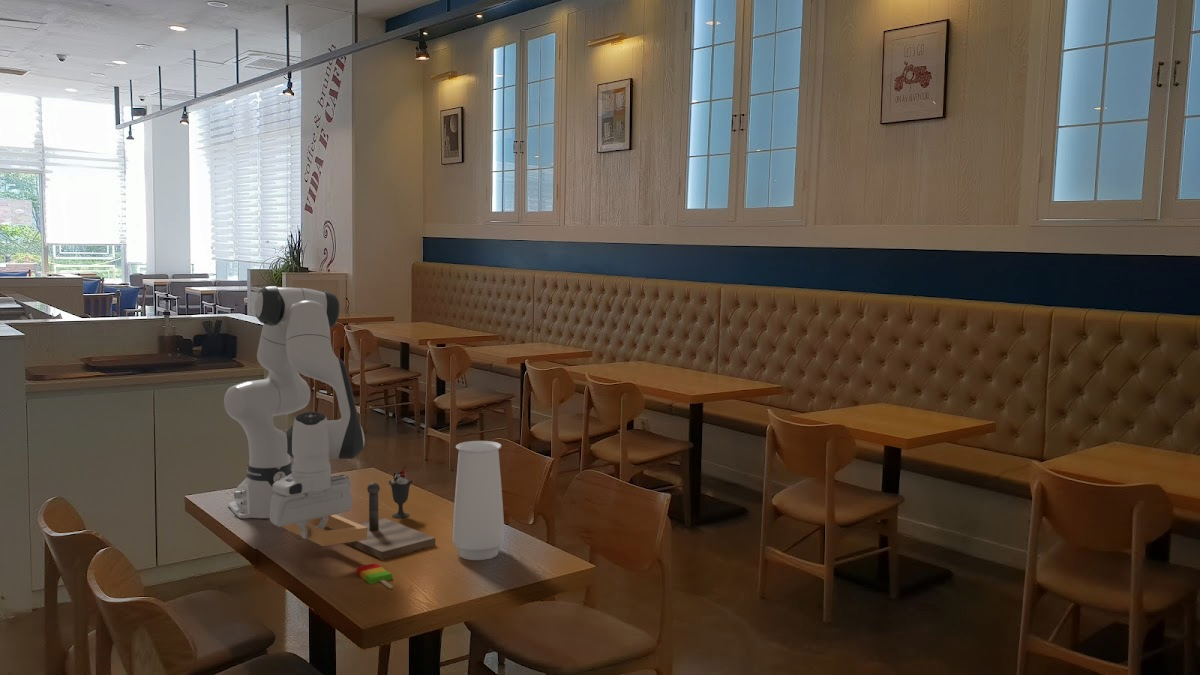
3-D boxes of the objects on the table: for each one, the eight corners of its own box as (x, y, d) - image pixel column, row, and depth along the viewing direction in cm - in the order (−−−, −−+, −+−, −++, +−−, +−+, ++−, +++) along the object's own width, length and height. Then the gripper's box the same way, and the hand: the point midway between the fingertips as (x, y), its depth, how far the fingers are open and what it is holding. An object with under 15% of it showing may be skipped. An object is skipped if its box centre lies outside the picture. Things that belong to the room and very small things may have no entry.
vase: (455, 564, 226) (455, 452, 223) (450, 547, 238) (449, 441, 236) (508, 560, 229) (508, 449, 227) (499, 543, 242) (500, 439, 239)
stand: (332, 537, 245) (331, 482, 244) (384, 524, 257) (383, 472, 255) (382, 559, 229) (381, 501, 227) (435, 545, 240) (435, 489, 239)
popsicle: (376, 569, 223) (376, 562, 223) (402, 589, 211) (402, 581, 211) (354, 574, 220) (354, 566, 220) (380, 594, 208) (379, 586, 208)
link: (282, 527, 233) (283, 515, 233) (325, 522, 241) (326, 510, 241) (322, 546, 219) (323, 533, 219) (366, 539, 227) (367, 527, 227)
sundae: (409, 519, 262) (409, 467, 260) (386, 519, 262) (385, 467, 261) (415, 512, 269) (414, 462, 267) (392, 512, 269) (391, 462, 267)
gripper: (343, 470, 232) (344, 524, 234) (265, 485, 218) (267, 542, 219) (356, 475, 228) (357, 530, 229) (278, 490, 213) (279, 548, 215)
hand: (312, 536), depth 224 cm, fingers closed on link, 2 cm apart
